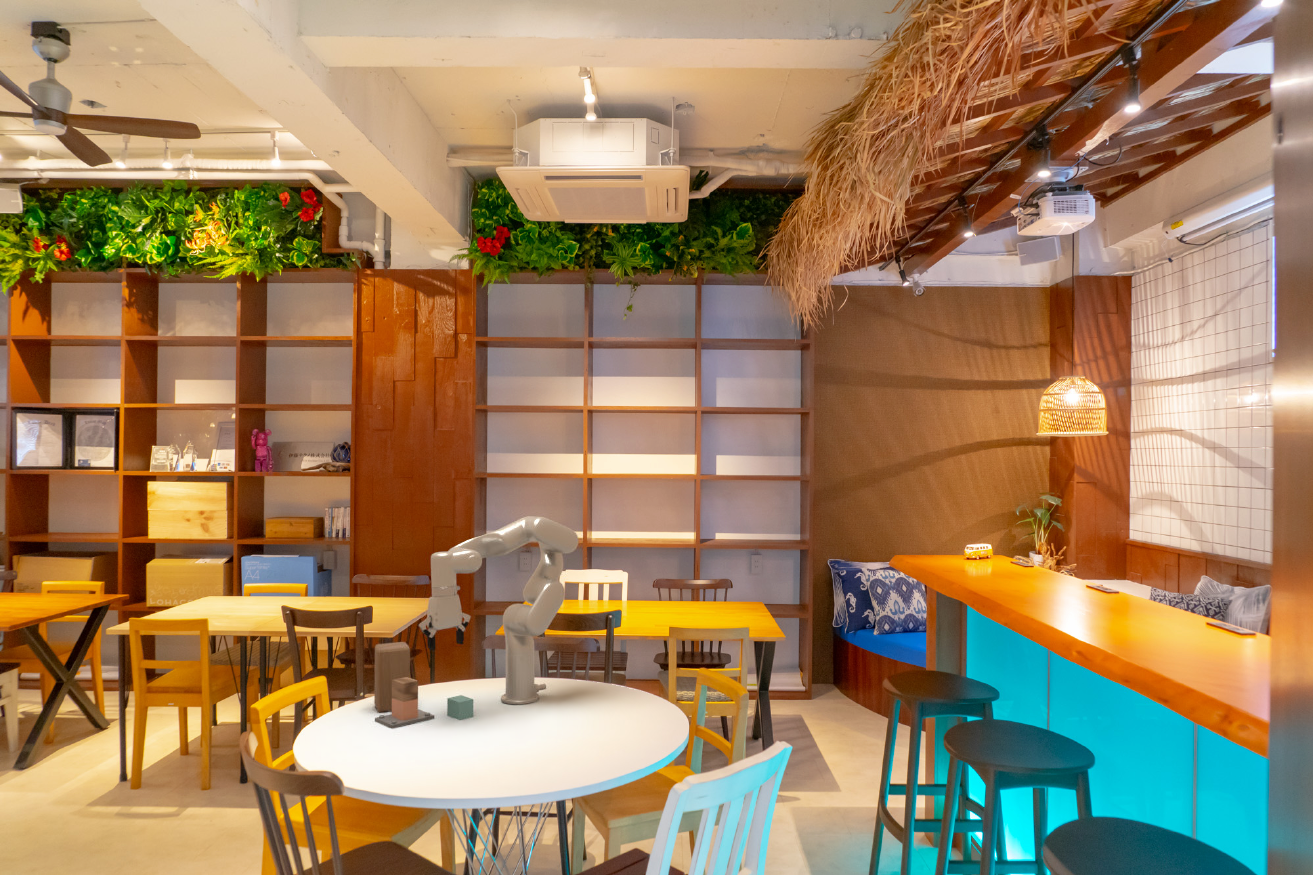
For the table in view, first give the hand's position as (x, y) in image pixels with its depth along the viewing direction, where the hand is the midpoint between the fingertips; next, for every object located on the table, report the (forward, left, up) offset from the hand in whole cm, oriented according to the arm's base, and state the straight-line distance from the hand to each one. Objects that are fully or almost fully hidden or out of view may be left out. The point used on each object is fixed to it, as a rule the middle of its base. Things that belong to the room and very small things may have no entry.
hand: (446, 646), depth 258 cm
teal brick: (-3, +3, -22) cm, 22 cm away
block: (+7, -22, -22) cm, 32 cm away
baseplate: (+11, -6, -22) cm, 25 cm away
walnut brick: (+10, -6, -15) cm, 19 cm away
